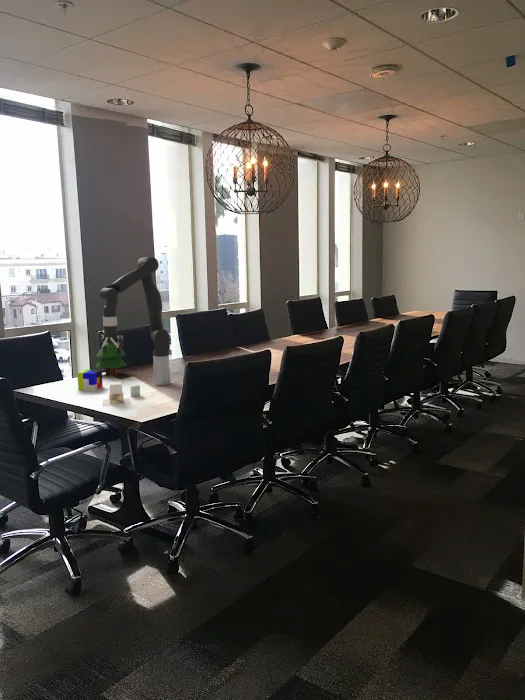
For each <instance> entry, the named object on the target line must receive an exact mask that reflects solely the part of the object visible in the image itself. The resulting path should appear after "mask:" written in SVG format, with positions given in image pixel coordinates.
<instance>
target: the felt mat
mask: <svg viewBox="0 0 525 700" xmlns="http://www.w3.org/2000/svg"><path fill="white" fill-rule="evenodd" d="M123 398H124V403H119V404H110V402H109V398H108V399H102V407H111V406H112V407H114V406H116V407H117V406H126V405H127V406H128V405H132V403H131V399H130V397H123Z"/></svg>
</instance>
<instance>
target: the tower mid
mask: <svg viewBox="0 0 525 700" xmlns="http://www.w3.org/2000/svg"><path fill="white" fill-rule="evenodd" d="M122 391H123V384H122V381H112V382H109V392H110V394H122Z"/></svg>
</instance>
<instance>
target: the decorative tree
mask: <svg viewBox="0 0 525 700" xmlns="http://www.w3.org/2000/svg"><path fill="white" fill-rule="evenodd" d="M102 334H104V329H103V330H102ZM106 347H107V353H106V354H104V353H103V347H102V346H101V348H100V349H99V351H98V352H97V354H96V357H98V358H100V359H99V361H98V362H97V363H96V365H95V368H97V369H105V376H107V377H113V376H118V368H122V367H123V368H124V367H126V366H127V363H126V362H125V361H124V359H122V357H124V356H126V353H125V351H124V350H123V349H122V348H121V353H120V354H117V346H116V345H115V344H114V343H108V344H107V345H106Z"/></svg>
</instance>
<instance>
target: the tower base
mask: <svg viewBox="0 0 525 700" xmlns="http://www.w3.org/2000/svg"><path fill="white" fill-rule="evenodd" d="M108 396H109V398H108V399H109V402H110V404H119V403H124V398H125V397H124V391H123V390H122V394H110V391H108Z"/></svg>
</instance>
